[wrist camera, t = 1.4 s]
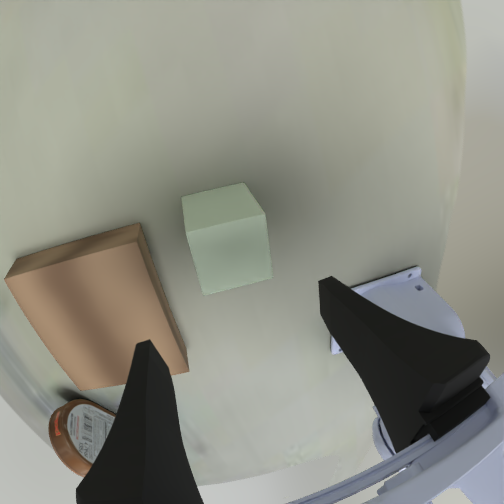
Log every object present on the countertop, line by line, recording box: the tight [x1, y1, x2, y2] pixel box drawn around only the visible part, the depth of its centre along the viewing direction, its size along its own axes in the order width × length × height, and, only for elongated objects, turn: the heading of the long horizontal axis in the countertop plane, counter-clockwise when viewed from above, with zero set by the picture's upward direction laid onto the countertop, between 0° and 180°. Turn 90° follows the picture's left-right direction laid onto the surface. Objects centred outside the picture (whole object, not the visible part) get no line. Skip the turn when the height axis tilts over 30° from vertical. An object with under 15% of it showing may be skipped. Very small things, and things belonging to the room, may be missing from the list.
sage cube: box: [181, 182, 273, 296], centre depth 19 cm, size 4×4×5 cm
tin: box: [49, 399, 116, 477], centre depth 26 cm, size 15×3×8 cm, turn 33°
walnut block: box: [4, 223, 189, 391], centre depth 22 cm, size 10×12×3 cm
